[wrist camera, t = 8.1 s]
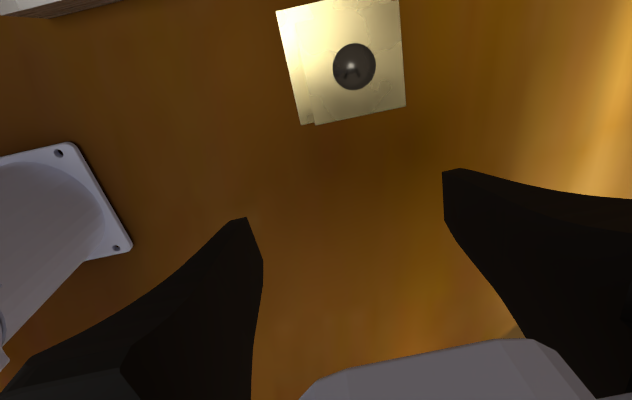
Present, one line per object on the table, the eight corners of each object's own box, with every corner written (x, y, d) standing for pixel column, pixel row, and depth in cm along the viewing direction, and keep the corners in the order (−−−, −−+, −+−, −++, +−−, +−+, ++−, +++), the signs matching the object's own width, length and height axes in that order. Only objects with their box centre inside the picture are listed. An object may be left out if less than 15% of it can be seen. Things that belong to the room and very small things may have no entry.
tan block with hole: (300, 110, 19) (301, 146, 13) (279, 16, 17) (269, 4, 11) (382, 92, 19) (425, 120, 13) (372, -6, 17) (418, -30, 11)
